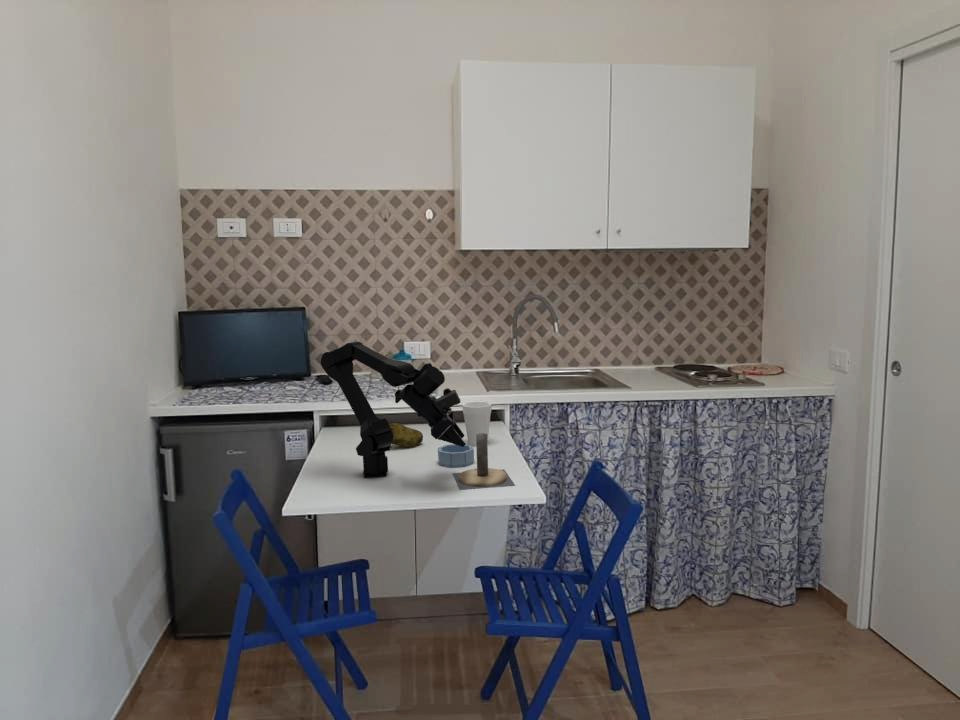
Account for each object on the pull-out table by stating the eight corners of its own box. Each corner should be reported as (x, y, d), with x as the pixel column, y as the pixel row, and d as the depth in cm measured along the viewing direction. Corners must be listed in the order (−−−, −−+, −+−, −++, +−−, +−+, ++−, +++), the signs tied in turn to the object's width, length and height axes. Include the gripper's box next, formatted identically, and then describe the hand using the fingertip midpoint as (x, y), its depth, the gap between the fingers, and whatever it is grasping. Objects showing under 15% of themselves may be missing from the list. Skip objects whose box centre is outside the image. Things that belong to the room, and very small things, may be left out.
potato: (424, 448, 235) (423, 424, 234) (384, 451, 233) (383, 426, 232) (422, 442, 243) (422, 418, 242) (383, 444, 241) (382, 420, 240)
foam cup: (467, 448, 234) (466, 408, 233) (460, 441, 243) (459, 402, 241) (495, 445, 237) (494, 405, 235) (487, 438, 246) (486, 400, 244)
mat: (459, 490, 193) (459, 489, 193) (452, 474, 207) (452, 473, 207) (515, 486, 195) (515, 485, 195) (504, 470, 210) (504, 469, 210)
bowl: (440, 469, 212) (440, 454, 212) (437, 459, 222) (436, 445, 222) (475, 466, 214) (475, 451, 213) (470, 457, 224) (470, 443, 223)
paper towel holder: (462, 488, 194) (461, 442, 192) (456, 474, 206) (454, 430, 205) (510, 484, 196) (510, 439, 194) (501, 470, 209) (500, 427, 207)
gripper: (442, 387, 187) (486, 427, 189) (442, 375, 206) (482, 412, 208) (412, 418, 188) (456, 458, 190) (414, 404, 206) (455, 440, 209)
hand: (463, 441), depth 199 cm, fingers open, 9 cm apart
